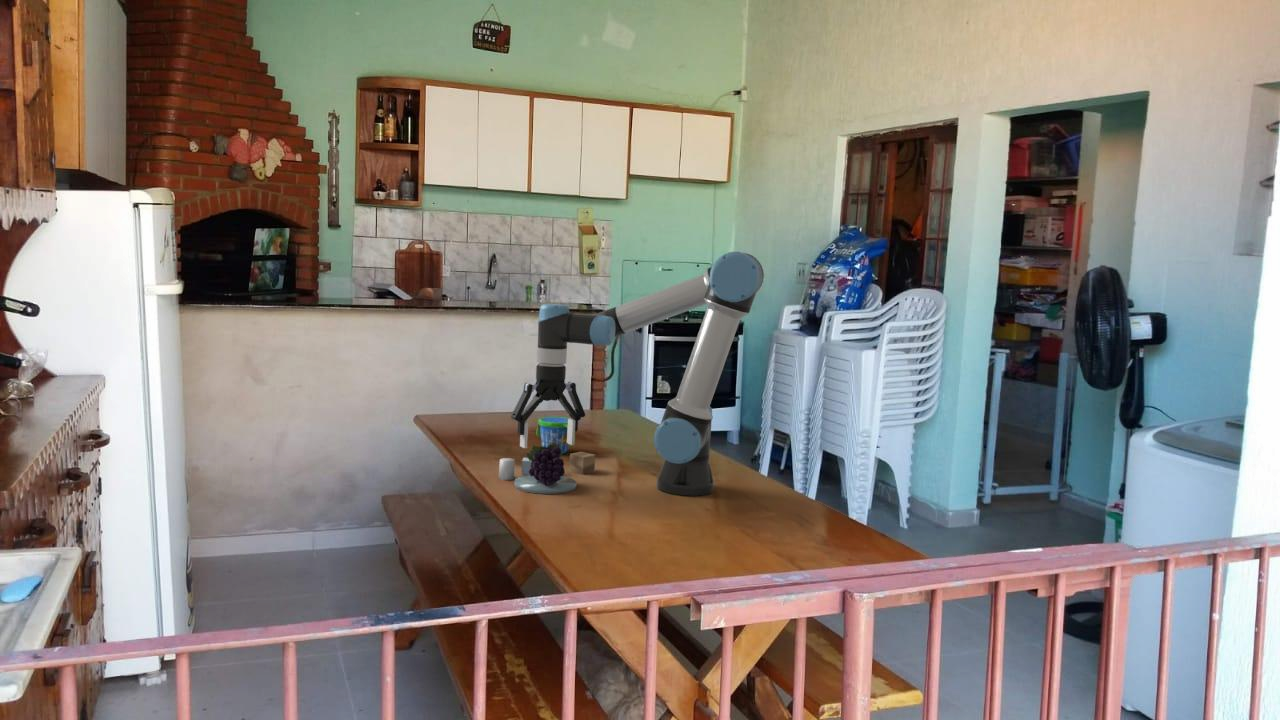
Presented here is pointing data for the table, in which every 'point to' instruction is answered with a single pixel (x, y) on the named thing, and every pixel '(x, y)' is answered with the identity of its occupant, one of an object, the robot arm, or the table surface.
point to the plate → (536, 486)
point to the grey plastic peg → (506, 469)
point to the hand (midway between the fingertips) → (547, 445)
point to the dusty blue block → (526, 466)
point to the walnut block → (582, 463)
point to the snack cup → (553, 432)
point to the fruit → (546, 463)
